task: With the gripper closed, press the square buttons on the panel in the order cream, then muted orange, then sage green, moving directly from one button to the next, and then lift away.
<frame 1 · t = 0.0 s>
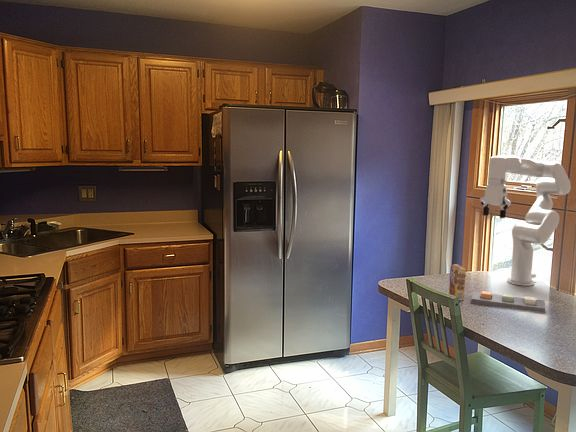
hand: (494, 216, 235), 37 cm above the table, tool pointing down, fingers open, 9 cm apart
orange button: (486, 294, 221), point 3 cm above the table, slide at 0.0 cm
candy box: (456, 298, 226), on the table
cream button: (529, 300, 213), point 3 cm above the table, slide at 0.0 cm
sage button: (507, 297, 217), point 3 cm above the table, slide at 0.0 cm
button panel: (507, 303, 217), on the table
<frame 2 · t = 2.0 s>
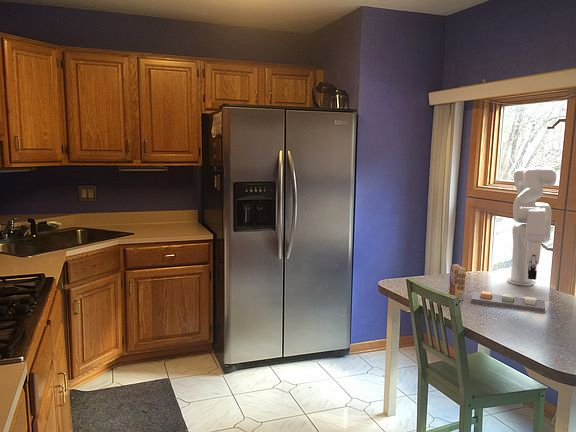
hand: (531, 276, 211), 14 cm above the table, tool pointing down, fingers open, 7 cm apart
nothing on the table moved.
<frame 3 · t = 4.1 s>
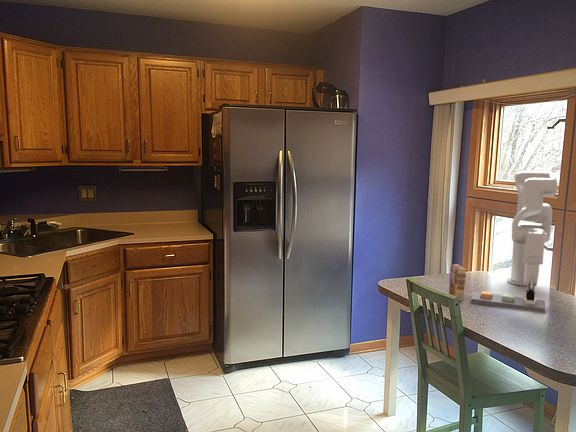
hand: (530, 299, 212), 3 cm above the table, tool pointing down, fingers closed
cream button: (529, 301, 213), point 2 cm above the table, slide at 0.6 cm, touching gripper
everything else where it was.
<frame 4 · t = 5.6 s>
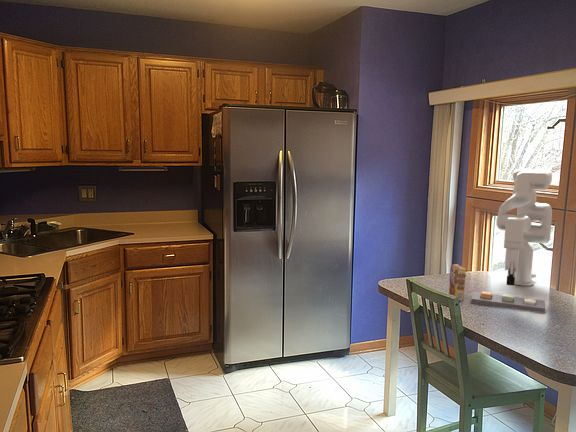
hand: (510, 284, 215), 9 cm above the table, tool pointing down, fingers closed
cream button: (529, 302, 213), point 2 cm above the table, slide at 1.0 cm
everything else where it was.
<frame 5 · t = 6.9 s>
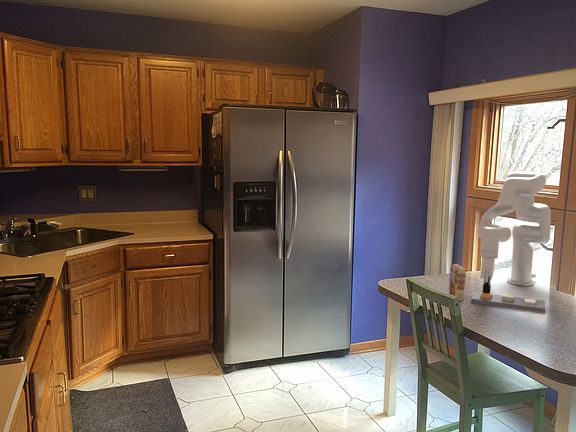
hand: (486, 292, 220), 4 cm above the table, tool pointing down, fingers closed
orange button: (486, 294, 221), point 3 cm above the table, slide at 0.0 cm, touching gripper
everything else where it was.
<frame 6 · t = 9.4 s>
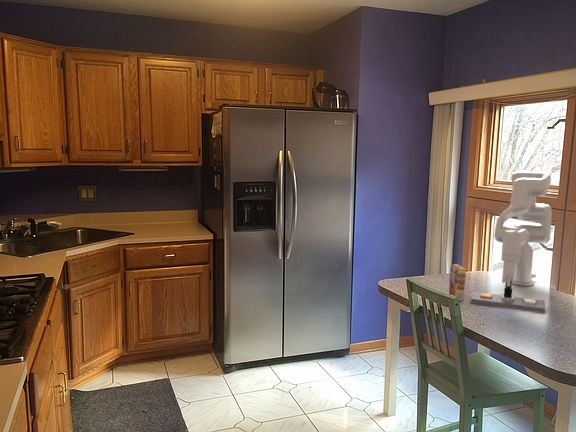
hand: (507, 297, 216), 3 cm above the table, tool pointing down, fingers closed
orange button: (486, 297, 221), point 2 cm above the table, slide at 1.0 cm
sage button: (507, 299, 217), point 2 cm above the table, slide at 0.7 cm, touching gripper
everything else where it was.
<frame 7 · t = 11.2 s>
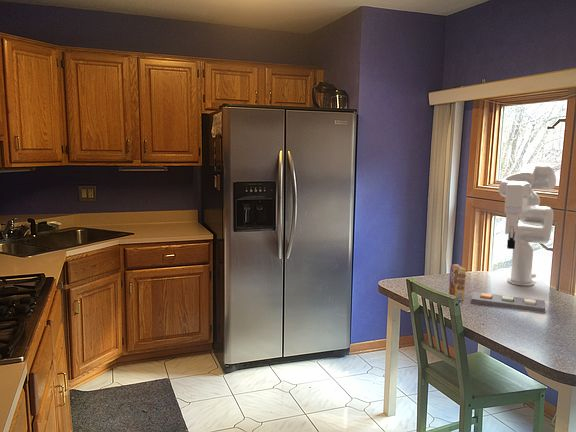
hand: (510, 248, 225), 23 cm above the table, tool pointing down, fingers closed
sage button: (507, 299, 217), point 2 cm above the table, slide at 1.0 cm
everything else where it was.
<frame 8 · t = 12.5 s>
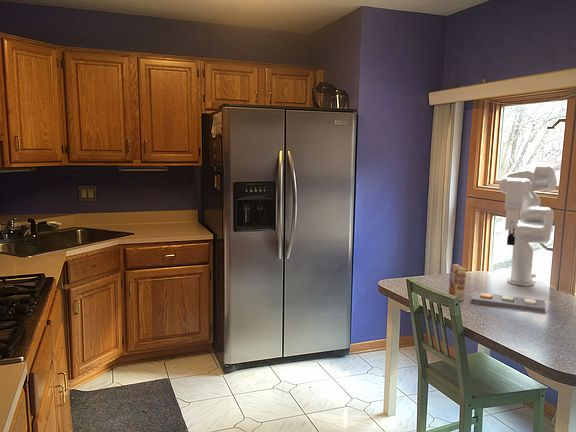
hand: (510, 244, 225), 25 cm above the table, tool pointing down, fingers closed
nothing on the table moved.
at the end: cream button slide at 1.0 cm; orange button slide at 1.0 cm; sage button slide at 1.0 cm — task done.
